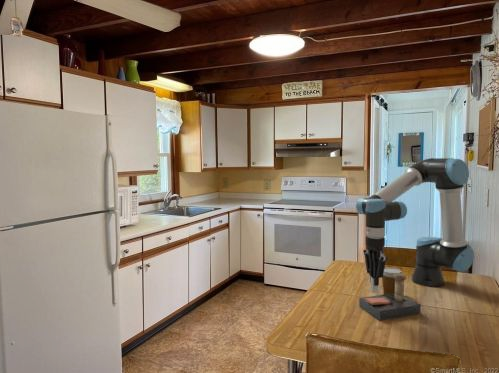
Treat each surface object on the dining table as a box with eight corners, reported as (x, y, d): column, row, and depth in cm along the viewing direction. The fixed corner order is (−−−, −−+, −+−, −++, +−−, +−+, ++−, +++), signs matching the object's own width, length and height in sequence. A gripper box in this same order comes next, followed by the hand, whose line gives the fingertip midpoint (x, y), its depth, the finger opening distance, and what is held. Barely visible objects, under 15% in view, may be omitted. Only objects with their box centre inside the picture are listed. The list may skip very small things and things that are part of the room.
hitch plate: (397, 301, 168) (397, 292, 167) (420, 313, 154) (420, 304, 154) (359, 306, 162) (359, 298, 161) (379, 320, 148) (380, 311, 148)
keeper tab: (384, 299, 160) (384, 296, 160) (392, 304, 155) (393, 301, 155) (364, 299, 157) (364, 297, 157) (372, 305, 152) (372, 302, 152)
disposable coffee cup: (403, 299, 169) (404, 274, 168) (381, 298, 171) (382, 272, 170) (399, 292, 179) (400, 267, 177) (378, 290, 180) (379, 266, 179)
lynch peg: (399, 305, 163) (400, 272, 161) (407, 310, 158) (408, 276, 157) (390, 307, 161) (391, 274, 160) (397, 311, 156) (399, 277, 155)
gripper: (358, 234, 158) (357, 287, 160) (377, 241, 145) (376, 299, 148) (373, 232, 160) (372, 285, 162) (393, 239, 148) (392, 296, 150)
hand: (374, 292), depth 155 cm, fingers closed
